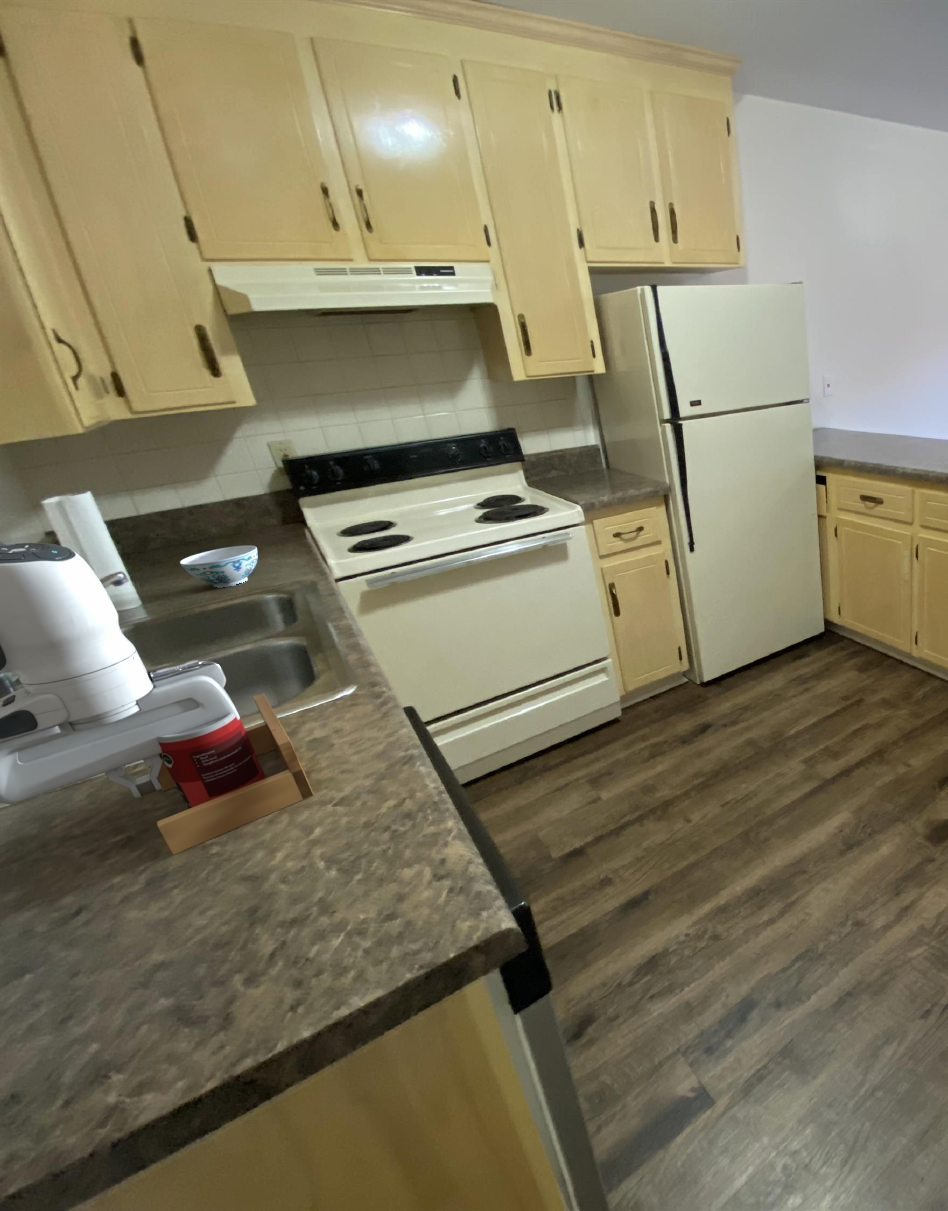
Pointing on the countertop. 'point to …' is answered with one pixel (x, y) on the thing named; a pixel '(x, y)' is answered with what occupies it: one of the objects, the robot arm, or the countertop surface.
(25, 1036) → the countertop surface
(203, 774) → the canned food
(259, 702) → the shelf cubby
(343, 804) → the countertop surface
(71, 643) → the robot arm
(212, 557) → the chinaware
